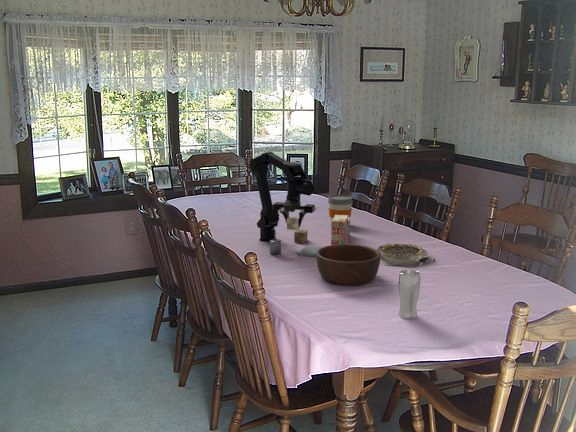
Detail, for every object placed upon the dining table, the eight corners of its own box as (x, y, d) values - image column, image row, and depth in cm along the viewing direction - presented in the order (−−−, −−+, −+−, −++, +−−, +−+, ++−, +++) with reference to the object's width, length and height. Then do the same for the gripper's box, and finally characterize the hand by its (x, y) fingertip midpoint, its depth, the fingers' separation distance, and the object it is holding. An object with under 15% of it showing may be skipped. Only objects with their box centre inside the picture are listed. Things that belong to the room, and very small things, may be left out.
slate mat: (297, 255, 274) (298, 253, 274) (305, 247, 285) (305, 246, 285) (324, 257, 270) (324, 255, 270) (331, 249, 282) (331, 248, 281)
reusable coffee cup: (346, 221, 333) (346, 194, 329) (355, 227, 321) (356, 198, 318) (324, 223, 329) (324, 195, 325) (333, 229, 317) (333, 200, 314)
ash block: (286, 229, 281) (286, 218, 280) (290, 226, 285) (290, 216, 284) (297, 230, 279) (297, 219, 278) (300, 227, 284) (300, 216, 283)
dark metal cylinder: (268, 254, 274) (268, 241, 273) (272, 251, 279) (271, 238, 277) (279, 255, 273) (279, 242, 271) (282, 252, 277) (282, 239, 276)
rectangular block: (294, 242, 294) (294, 232, 293) (297, 239, 299) (297, 229, 298) (304, 243, 293) (304, 232, 292) (307, 240, 297) (307, 230, 296)
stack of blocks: (337, 234, 308) (337, 210, 305) (350, 235, 307) (350, 210, 304) (330, 246, 287) (331, 220, 285) (344, 247, 286) (345, 221, 283)
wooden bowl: (363, 293, 228) (363, 266, 226) (303, 281, 241) (304, 255, 238) (390, 274, 249) (391, 249, 246) (334, 264, 261) (334, 240, 259)
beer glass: (402, 310, 212) (404, 267, 208) (421, 314, 208) (424, 271, 205) (393, 316, 206) (395, 273, 203) (413, 321, 202) (415, 277, 199)
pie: (362, 263, 263) (362, 252, 262) (377, 247, 288) (377, 237, 287) (429, 271, 253) (430, 260, 252) (439, 254, 278) (439, 243, 277)
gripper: (268, 194, 274) (268, 228, 277) (309, 196, 268) (309, 232, 272) (276, 189, 284) (276, 223, 288) (315, 192, 279) (315, 226, 282)
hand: (293, 226), depth 282 cm, fingers closed on ash block, 5 cm apart
